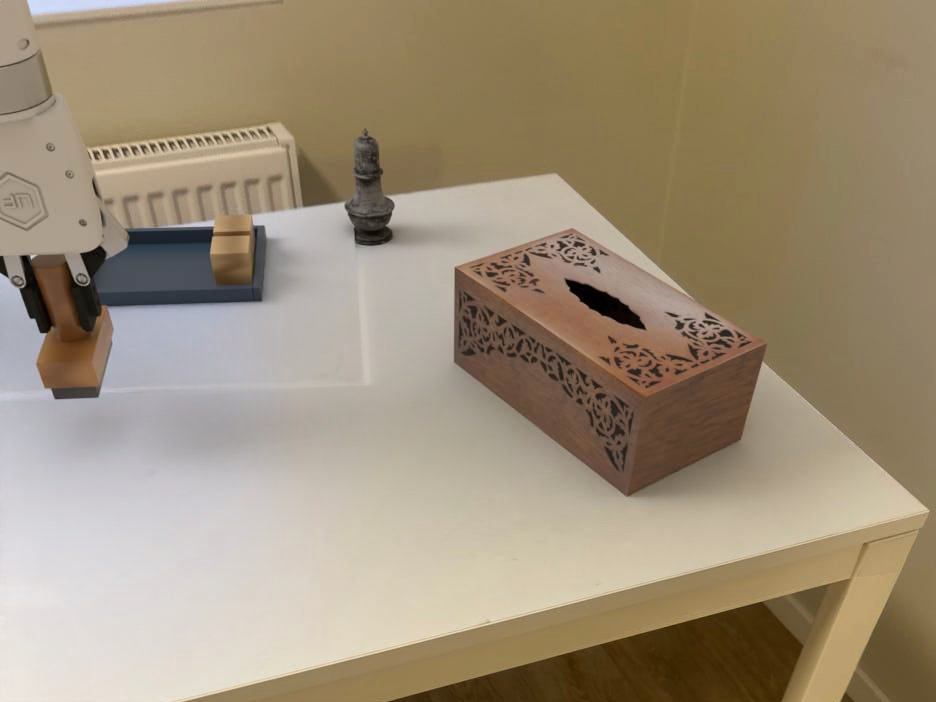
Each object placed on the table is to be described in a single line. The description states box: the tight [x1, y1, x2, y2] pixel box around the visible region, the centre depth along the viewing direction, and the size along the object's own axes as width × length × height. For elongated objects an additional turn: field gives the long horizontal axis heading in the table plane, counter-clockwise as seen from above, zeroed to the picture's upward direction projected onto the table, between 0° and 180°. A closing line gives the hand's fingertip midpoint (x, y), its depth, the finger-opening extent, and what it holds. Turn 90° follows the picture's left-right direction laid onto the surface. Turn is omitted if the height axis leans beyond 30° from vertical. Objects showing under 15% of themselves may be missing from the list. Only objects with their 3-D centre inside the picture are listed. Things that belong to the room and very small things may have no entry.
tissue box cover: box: [453, 227, 768, 497], centre depth 90 cm, size 26×14×10 cm, turn 37°
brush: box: [31, 254, 115, 400], centre depth 80 cm, size 4×9×10 cm, turn 7°
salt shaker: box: [344, 127, 396, 246], centre depth 111 cm, size 6×6×12 cm
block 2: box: [210, 236, 254, 286], centre depth 104 cm, size 4×4×4 cm
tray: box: [93, 224, 267, 307], centre depth 106 cm, size 20×15×2 cm
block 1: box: [213, 214, 256, 264], centre depth 107 cm, size 4×4×4 cm
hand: (69, 322), depth 80 cm, fingers closed on brush, 2 cm apart
